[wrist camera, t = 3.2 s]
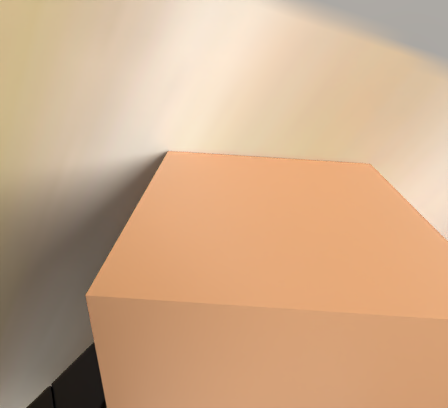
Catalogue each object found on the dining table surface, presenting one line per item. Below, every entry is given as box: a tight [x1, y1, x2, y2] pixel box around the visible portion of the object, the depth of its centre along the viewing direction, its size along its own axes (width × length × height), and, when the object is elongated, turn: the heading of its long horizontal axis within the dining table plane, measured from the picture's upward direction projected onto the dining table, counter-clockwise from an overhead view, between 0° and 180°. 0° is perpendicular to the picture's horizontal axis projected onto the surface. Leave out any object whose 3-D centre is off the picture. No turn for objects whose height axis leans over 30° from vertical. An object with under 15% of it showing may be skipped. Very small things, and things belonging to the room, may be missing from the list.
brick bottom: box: [85, 151, 448, 408], centre depth 8 cm, size 5×8×5 cm, turn 177°
